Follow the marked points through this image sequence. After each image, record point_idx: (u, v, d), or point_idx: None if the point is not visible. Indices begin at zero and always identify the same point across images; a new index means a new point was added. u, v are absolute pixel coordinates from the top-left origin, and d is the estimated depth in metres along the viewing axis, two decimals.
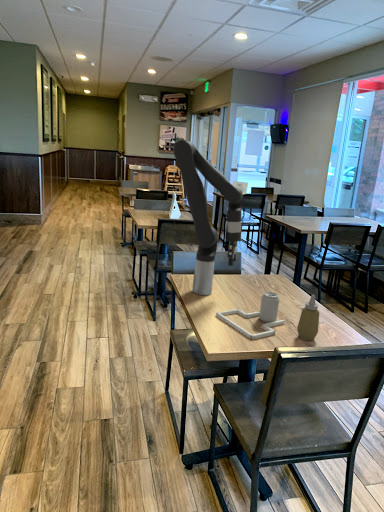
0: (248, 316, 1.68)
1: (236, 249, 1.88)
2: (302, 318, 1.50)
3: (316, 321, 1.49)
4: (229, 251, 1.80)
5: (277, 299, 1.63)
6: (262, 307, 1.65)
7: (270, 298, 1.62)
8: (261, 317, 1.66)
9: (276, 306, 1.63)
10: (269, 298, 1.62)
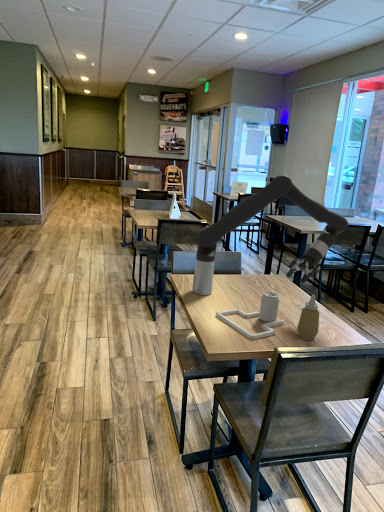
0: (248, 316, 1.68)
1: (300, 269, 1.74)
2: (302, 318, 1.50)
3: (316, 321, 1.49)
4: (316, 271, 1.66)
5: (277, 299, 1.63)
6: (262, 307, 1.65)
7: (270, 298, 1.62)
8: (261, 317, 1.66)
9: (276, 306, 1.63)
10: (269, 298, 1.62)
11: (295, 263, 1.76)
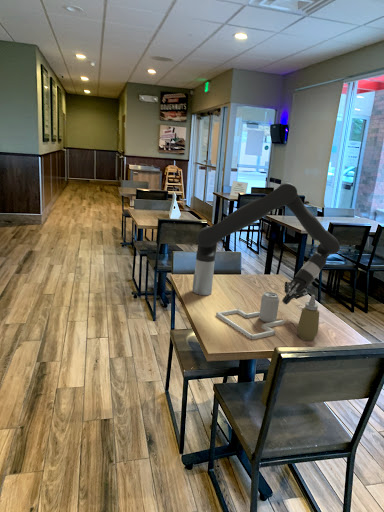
0: (248, 316, 1.68)
1: None
2: (302, 318, 1.50)
3: (316, 321, 1.49)
4: (300, 294, 1.68)
5: (277, 299, 1.63)
6: (262, 307, 1.65)
7: (270, 298, 1.62)
8: (261, 317, 1.66)
9: (276, 306, 1.63)
10: (269, 298, 1.62)
11: (288, 287, 1.75)
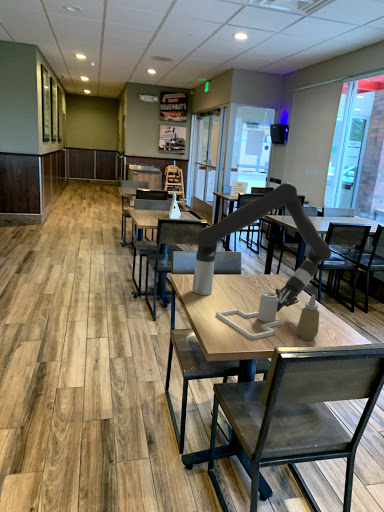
0: (248, 316, 1.68)
1: None
2: (302, 318, 1.50)
3: (316, 321, 1.49)
4: (291, 302, 1.66)
5: (276, 299, 1.63)
6: (261, 307, 1.65)
7: (269, 298, 1.62)
8: (260, 317, 1.65)
9: (275, 306, 1.63)
10: (268, 298, 1.62)
11: (279, 294, 1.74)
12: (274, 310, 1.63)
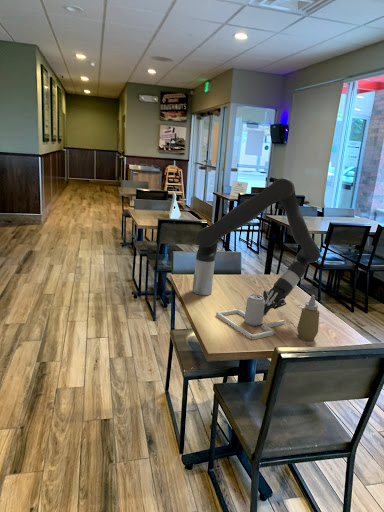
0: None
1: None
2: (302, 318, 1.50)
3: (316, 321, 1.49)
4: (278, 304, 1.62)
5: (262, 302, 1.59)
6: (247, 309, 1.61)
7: (255, 300, 1.58)
8: (246, 320, 1.62)
9: (261, 309, 1.59)
10: (254, 300, 1.58)
11: (267, 296, 1.70)
12: (260, 313, 1.59)
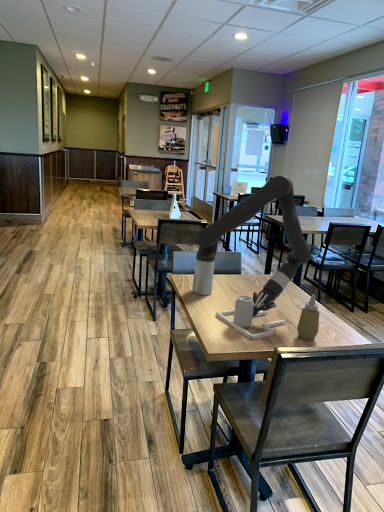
0: None
1: None
2: (302, 318, 1.50)
3: (316, 321, 1.49)
4: (268, 306, 1.59)
5: (251, 303, 1.56)
6: (235, 311, 1.58)
7: (243, 302, 1.55)
8: (234, 322, 1.59)
9: (249, 311, 1.56)
10: (242, 302, 1.55)
11: (256, 298, 1.66)
12: (249, 315, 1.56)
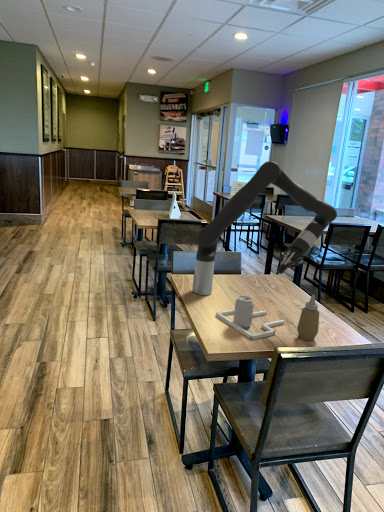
0: None
1: None
2: (302, 318, 1.50)
3: (316, 321, 1.49)
4: (295, 263, 1.61)
5: (250, 304, 1.56)
6: (235, 311, 1.58)
7: (243, 302, 1.55)
8: (234, 322, 1.59)
9: (249, 311, 1.56)
10: (242, 302, 1.55)
11: (283, 257, 1.69)
12: (249, 315, 1.56)
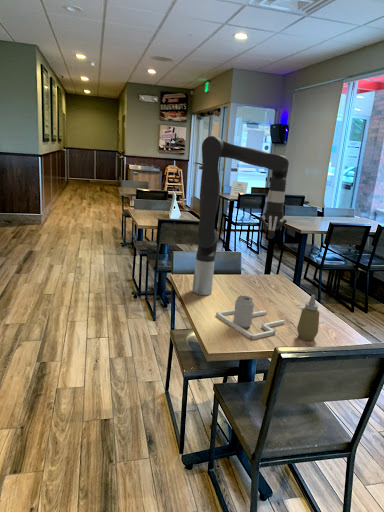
0: None
1: None
2: (302, 318, 1.50)
3: (316, 321, 1.49)
4: (282, 225, 1.77)
5: (250, 304, 1.56)
6: (235, 311, 1.58)
7: (243, 302, 1.55)
8: (234, 322, 1.59)
9: (249, 311, 1.56)
10: (242, 302, 1.55)
11: (264, 221, 1.79)
12: (249, 315, 1.56)
